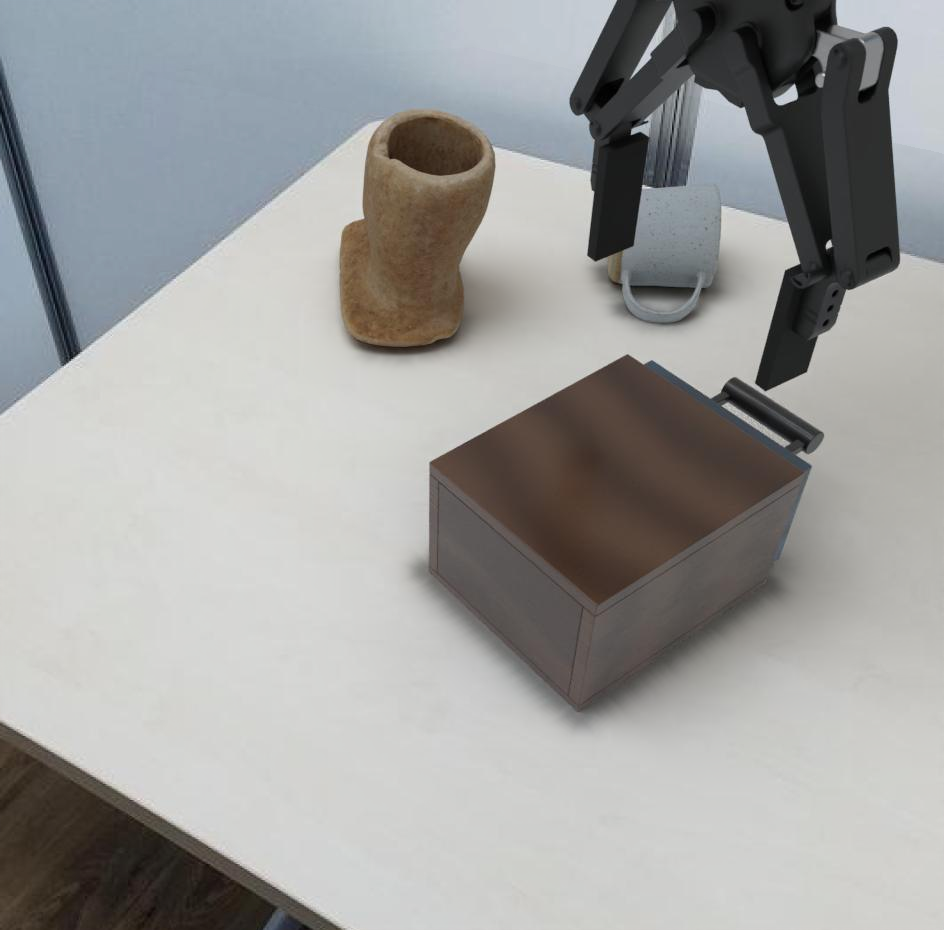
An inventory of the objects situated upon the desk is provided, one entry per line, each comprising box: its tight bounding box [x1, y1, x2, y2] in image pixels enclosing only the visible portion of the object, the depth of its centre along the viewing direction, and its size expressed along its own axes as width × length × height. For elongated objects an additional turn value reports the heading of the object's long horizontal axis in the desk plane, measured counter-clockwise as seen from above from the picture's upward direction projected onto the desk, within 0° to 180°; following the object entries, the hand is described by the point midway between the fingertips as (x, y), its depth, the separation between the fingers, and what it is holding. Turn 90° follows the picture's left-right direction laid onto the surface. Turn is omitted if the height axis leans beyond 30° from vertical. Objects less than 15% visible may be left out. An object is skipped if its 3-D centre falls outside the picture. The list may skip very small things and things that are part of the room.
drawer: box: [643, 359, 825, 563], centre depth 69 cm, size 20×13×8 cm, turn 125°
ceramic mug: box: [606, 183, 722, 324], centre depth 88 cm, size 11×8×8 cm
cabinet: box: [428, 353, 805, 713], centre depth 68 cm, size 16×14×10 cm
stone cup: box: [339, 108, 497, 348], centre depth 86 cm, size 15×12×15 cm
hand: (689, 310), depth 60 cm, fingers open, 13 cm apart
